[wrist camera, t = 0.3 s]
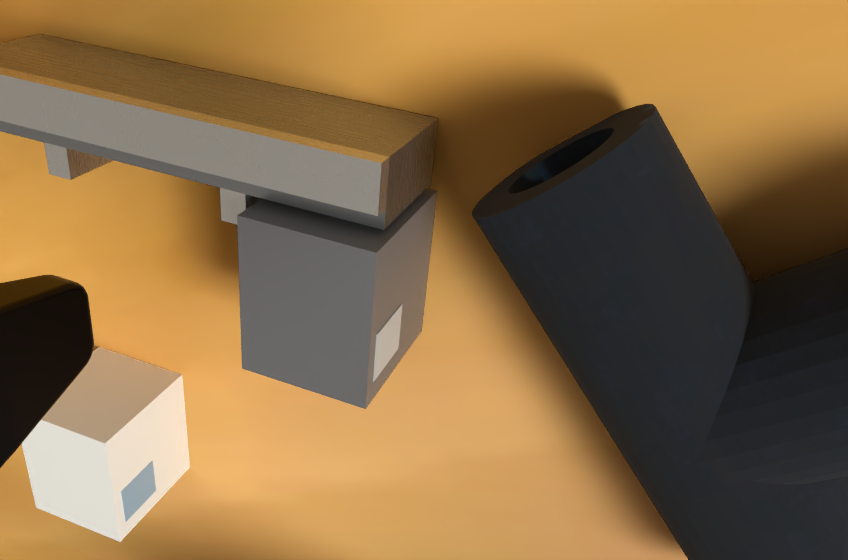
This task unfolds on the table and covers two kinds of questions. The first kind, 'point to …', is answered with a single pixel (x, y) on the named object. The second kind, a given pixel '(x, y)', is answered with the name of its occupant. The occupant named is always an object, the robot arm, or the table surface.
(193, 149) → the rail
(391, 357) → the block
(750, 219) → the table surface
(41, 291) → the robot arm
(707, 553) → the pipe connector
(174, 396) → the block
